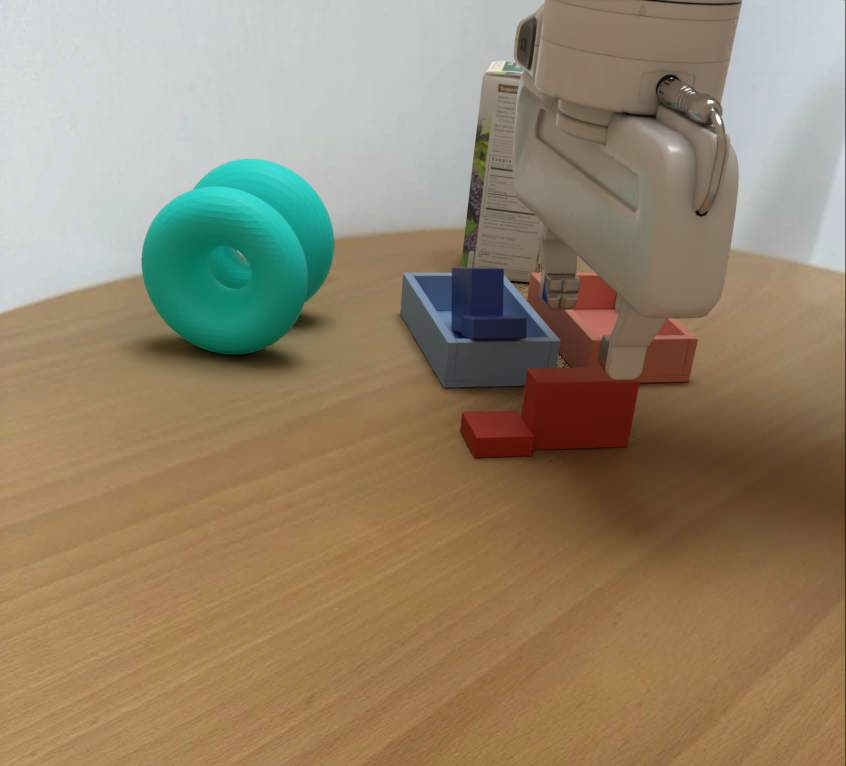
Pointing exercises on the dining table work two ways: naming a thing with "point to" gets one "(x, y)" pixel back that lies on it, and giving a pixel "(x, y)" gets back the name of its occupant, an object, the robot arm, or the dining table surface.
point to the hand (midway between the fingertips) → (585, 337)
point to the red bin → (597, 318)
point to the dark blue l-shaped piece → (482, 305)
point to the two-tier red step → (557, 414)
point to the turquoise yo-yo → (238, 256)
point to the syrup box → (498, 185)
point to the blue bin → (467, 357)
